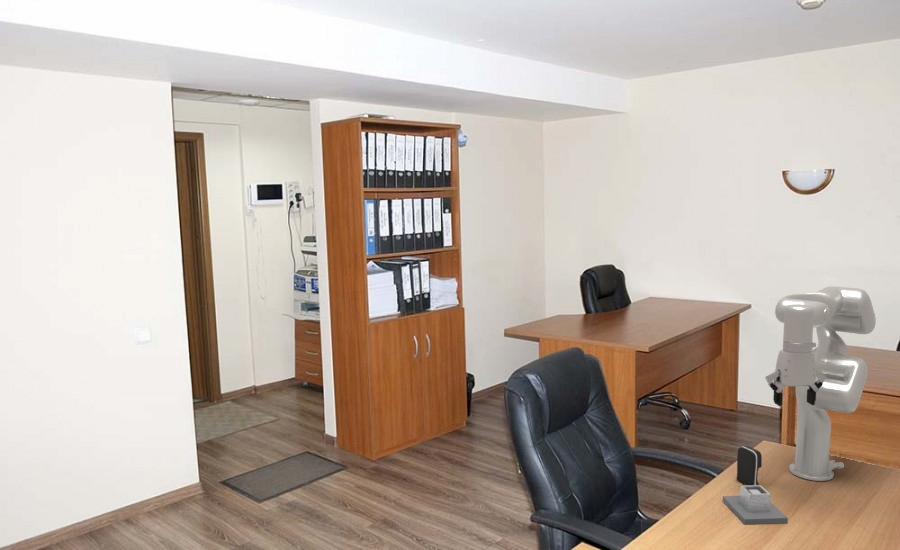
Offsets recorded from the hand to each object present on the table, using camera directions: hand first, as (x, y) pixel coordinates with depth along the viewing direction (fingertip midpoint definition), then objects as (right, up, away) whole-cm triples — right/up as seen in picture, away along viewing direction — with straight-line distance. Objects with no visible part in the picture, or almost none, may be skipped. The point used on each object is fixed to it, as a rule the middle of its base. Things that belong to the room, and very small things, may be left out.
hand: (794, 404), depth 200 cm
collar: (-14, -28, -6) cm, 32 cm away
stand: (-14, -30, -6) cm, 33 cm away
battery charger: (-8, -27, +12) cm, 31 cm away
